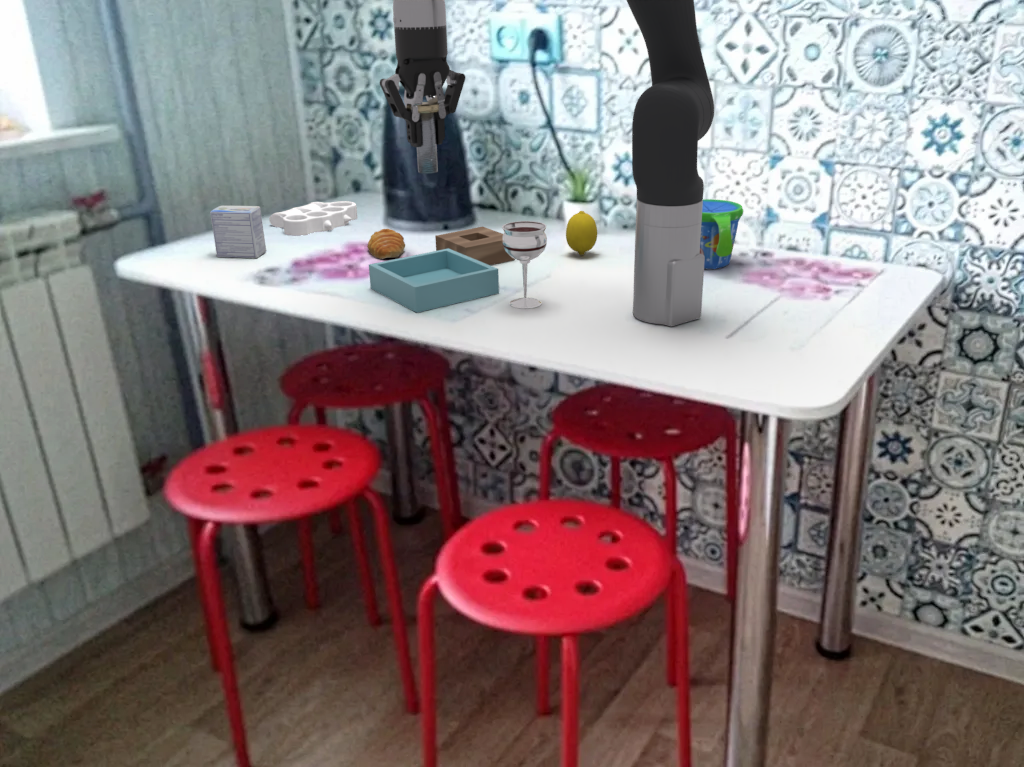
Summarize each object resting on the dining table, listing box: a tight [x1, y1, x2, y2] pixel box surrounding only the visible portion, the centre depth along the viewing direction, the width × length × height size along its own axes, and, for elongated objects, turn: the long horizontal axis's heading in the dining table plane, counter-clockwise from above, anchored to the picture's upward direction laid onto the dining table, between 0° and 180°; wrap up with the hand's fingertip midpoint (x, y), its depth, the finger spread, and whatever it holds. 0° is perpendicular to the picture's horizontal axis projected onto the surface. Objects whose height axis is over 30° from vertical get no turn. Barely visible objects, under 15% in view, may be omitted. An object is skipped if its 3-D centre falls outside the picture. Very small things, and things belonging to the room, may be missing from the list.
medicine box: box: [209, 205, 267, 259], centre depth 175 cm, size 8×4×9 cm, turn 80°
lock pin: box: [410, 101, 439, 175], centre depth 146 cm, size 4×4×10 cm
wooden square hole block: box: [435, 226, 516, 266], centre depth 170 cm, size 10×10×4 cm
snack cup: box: [700, 198, 744, 270], centre depth 163 cm, size 16×10×10 cm
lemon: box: [565, 210, 598, 256], centre depth 170 cm, size 6×6×8 cm
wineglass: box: [501, 220, 548, 309], centre depth 146 cm, size 7×7×12 cm
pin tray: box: [368, 248, 500, 314], centre depth 154 cm, size 15×15×4 cm
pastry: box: [367, 228, 406, 260], centre depth 175 cm, size 9×7×4 cm
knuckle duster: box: [268, 200, 358, 237], centre depth 196 cm, size 3×18×15 cm
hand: (426, 144), depth 146 cm, fingers closed on lock pin, 3 cm apart
